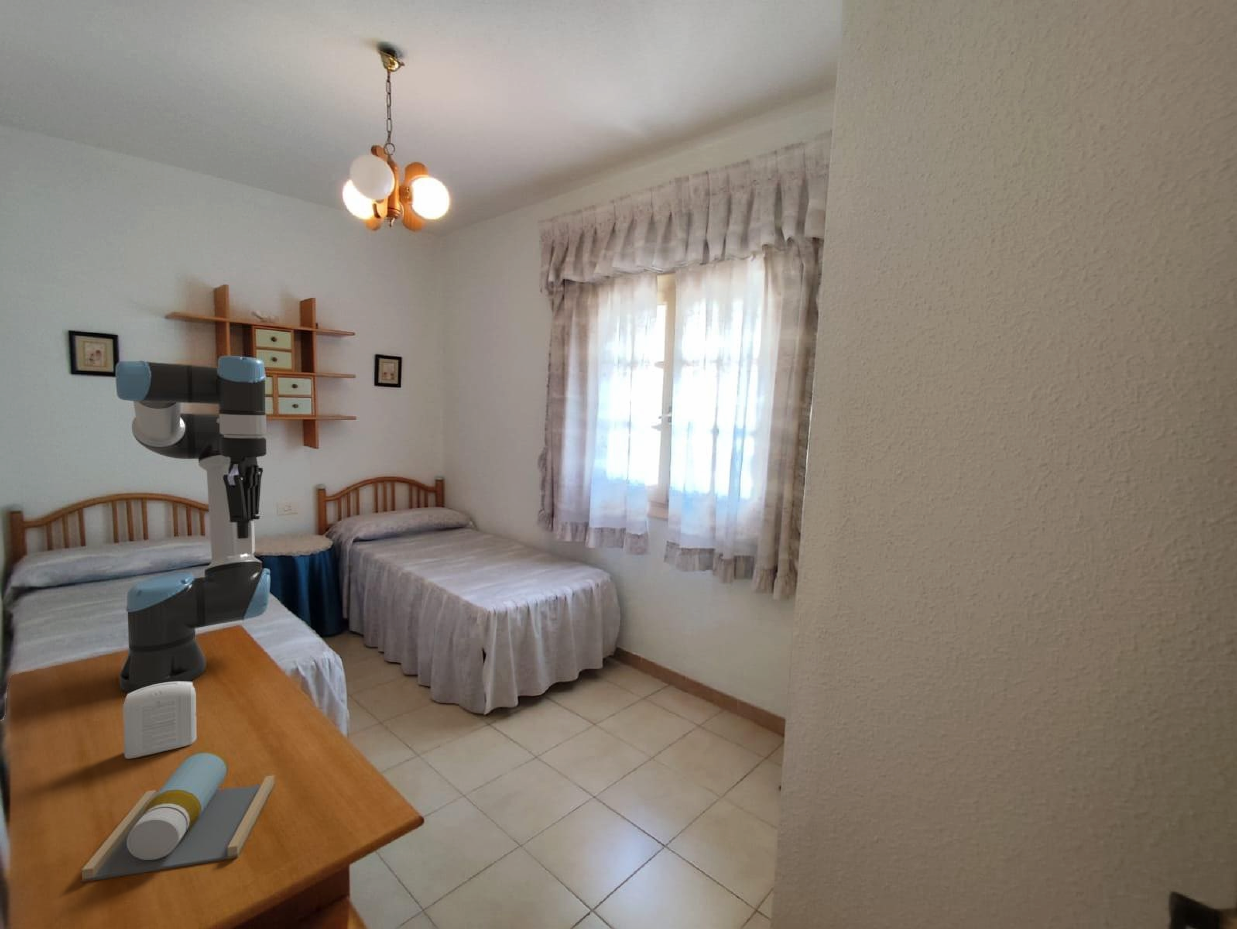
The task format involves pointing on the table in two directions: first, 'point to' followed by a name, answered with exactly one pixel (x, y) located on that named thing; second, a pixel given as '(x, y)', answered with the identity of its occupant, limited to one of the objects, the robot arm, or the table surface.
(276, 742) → the table surface
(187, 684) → the photo printer
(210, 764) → the bottle
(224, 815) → the grey tray
